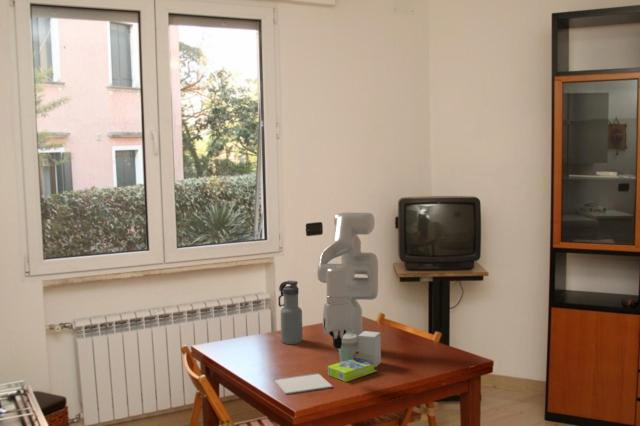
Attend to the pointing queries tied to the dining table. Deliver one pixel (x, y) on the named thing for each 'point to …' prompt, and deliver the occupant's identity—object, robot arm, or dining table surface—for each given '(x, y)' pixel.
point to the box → (351, 369)
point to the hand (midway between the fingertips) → (337, 347)
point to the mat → (302, 383)
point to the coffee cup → (348, 347)
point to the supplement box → (370, 347)
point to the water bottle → (290, 313)
